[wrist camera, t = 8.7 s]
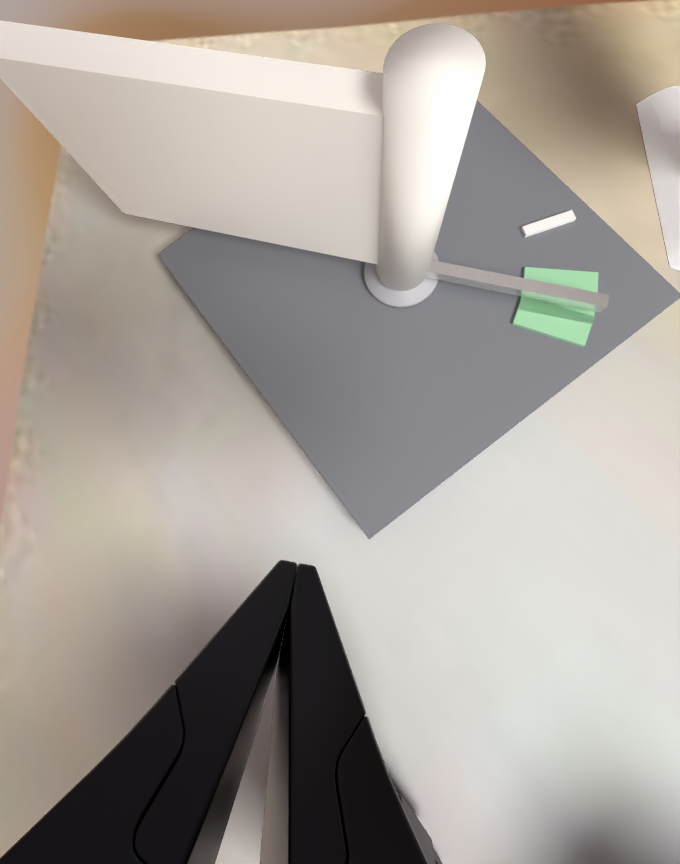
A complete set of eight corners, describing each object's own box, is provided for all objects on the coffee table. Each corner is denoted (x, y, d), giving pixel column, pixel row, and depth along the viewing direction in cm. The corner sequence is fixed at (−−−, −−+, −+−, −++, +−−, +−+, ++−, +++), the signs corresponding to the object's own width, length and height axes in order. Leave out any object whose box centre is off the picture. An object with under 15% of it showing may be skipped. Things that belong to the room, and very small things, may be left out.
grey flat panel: (369, 535, 21) (369, 540, 19) (170, 268, 24) (153, 250, 22) (660, 308, 21) (689, 292, 19) (424, 79, 25) (428, 46, 23)
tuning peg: (605, 281, 19) (853, 72, 9) (596, 332, 19) (842, 170, 9) (146, 193, 22) (-28, -33, 13) (131, 235, 22) (-60, 37, 12)
